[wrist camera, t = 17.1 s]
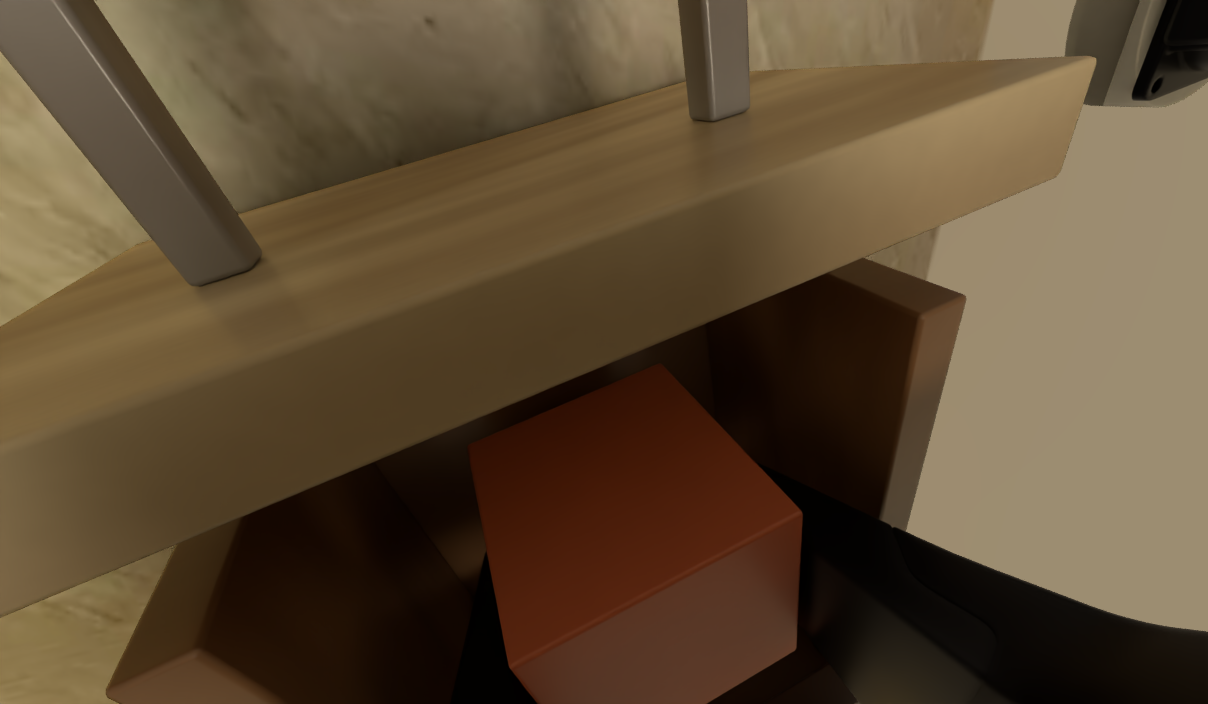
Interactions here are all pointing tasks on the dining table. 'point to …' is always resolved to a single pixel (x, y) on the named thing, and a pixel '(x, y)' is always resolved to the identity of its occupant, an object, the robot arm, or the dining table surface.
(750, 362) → the drawer
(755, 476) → the block
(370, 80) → the dining table surface
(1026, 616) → the robot arm
